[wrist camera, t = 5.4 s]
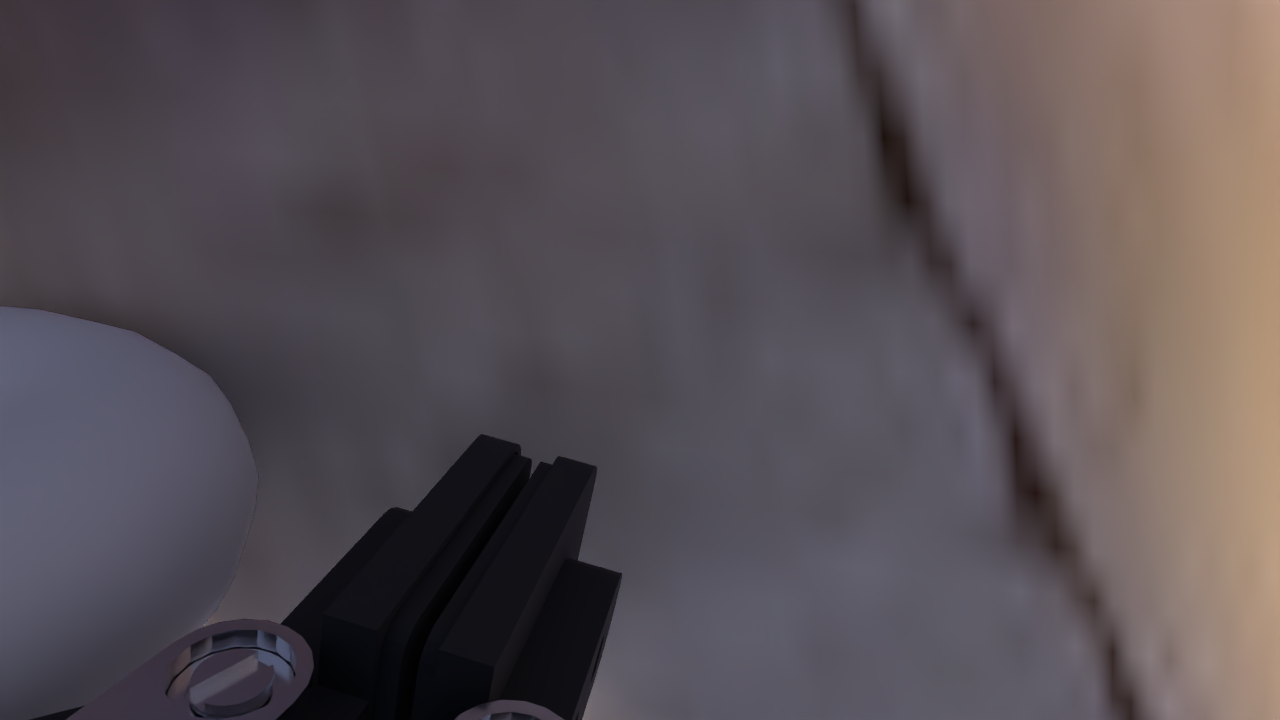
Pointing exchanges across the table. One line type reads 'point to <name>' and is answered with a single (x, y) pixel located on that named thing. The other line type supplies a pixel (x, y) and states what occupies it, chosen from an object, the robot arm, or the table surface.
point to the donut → (108, 506)
